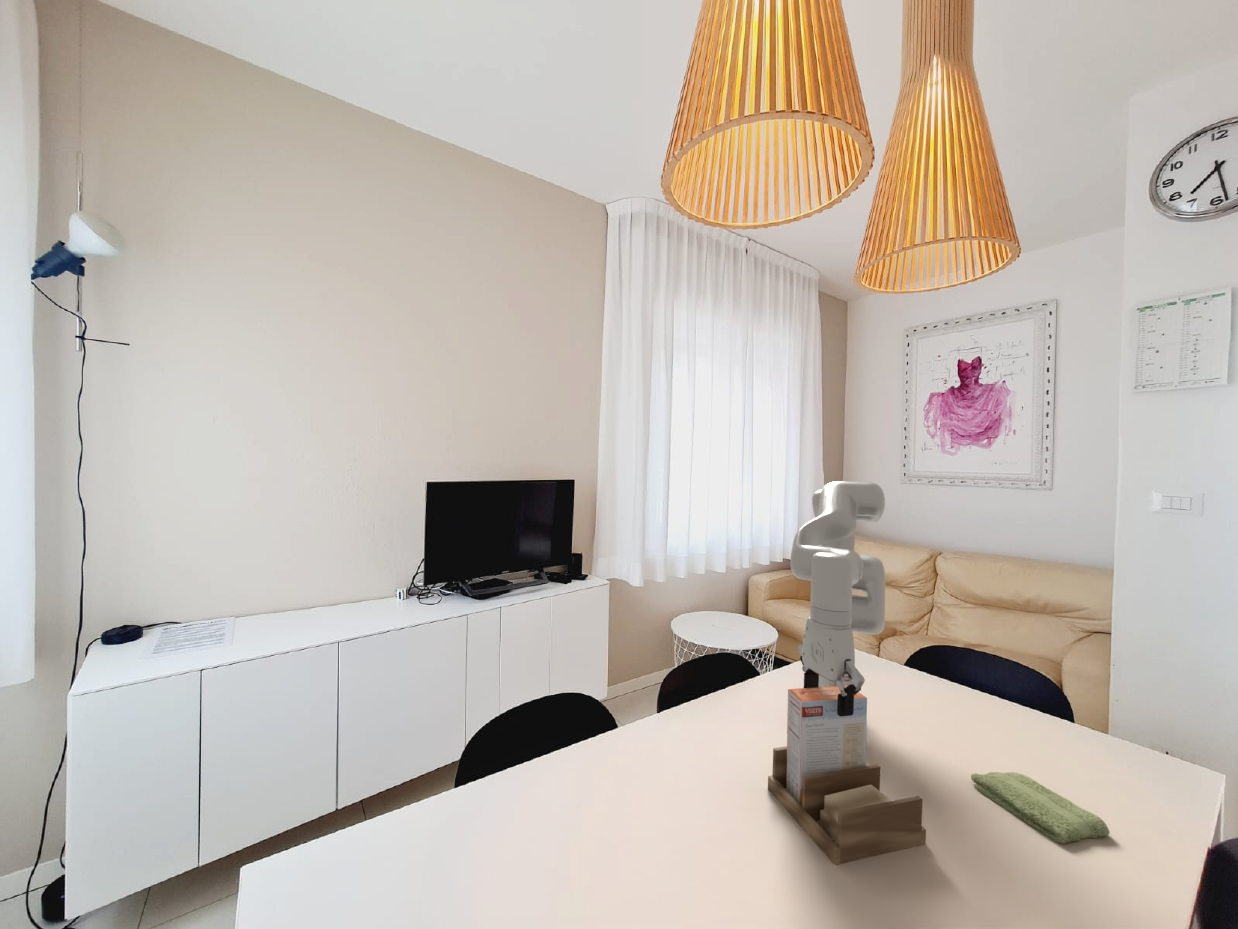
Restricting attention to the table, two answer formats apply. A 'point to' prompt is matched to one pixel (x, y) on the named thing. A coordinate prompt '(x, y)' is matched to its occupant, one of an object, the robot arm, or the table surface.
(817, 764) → the cracker box
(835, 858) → the rack
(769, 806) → the table surface
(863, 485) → the robot arm
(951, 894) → the table surface
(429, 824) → the table surface
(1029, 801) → the washcloth
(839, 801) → the wooden block
